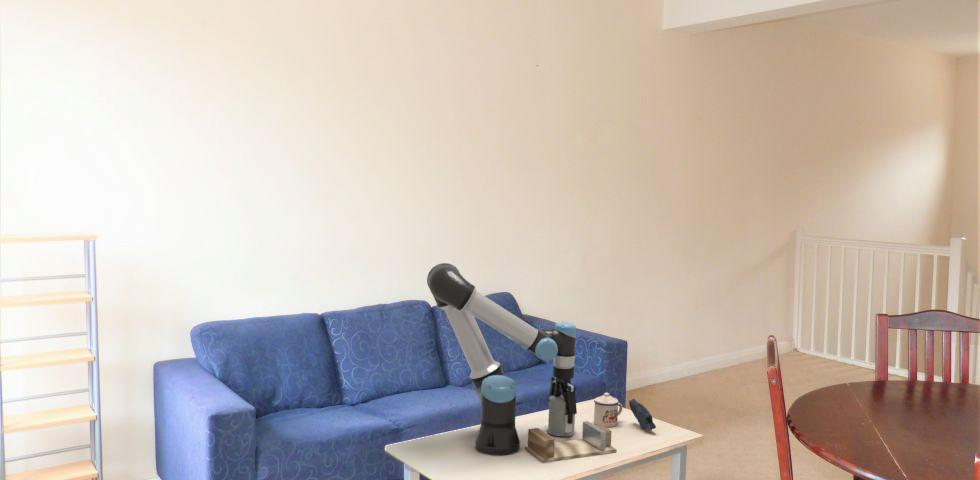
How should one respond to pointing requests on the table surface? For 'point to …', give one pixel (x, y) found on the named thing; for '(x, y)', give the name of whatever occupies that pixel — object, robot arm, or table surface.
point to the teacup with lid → (606, 410)
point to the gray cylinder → (558, 417)
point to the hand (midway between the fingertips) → (561, 427)
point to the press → (560, 447)
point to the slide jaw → (596, 435)
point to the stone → (642, 415)
